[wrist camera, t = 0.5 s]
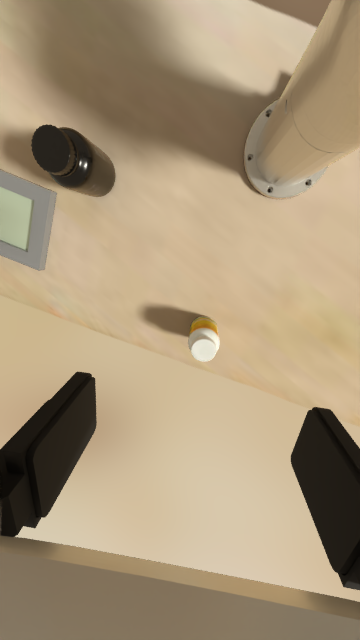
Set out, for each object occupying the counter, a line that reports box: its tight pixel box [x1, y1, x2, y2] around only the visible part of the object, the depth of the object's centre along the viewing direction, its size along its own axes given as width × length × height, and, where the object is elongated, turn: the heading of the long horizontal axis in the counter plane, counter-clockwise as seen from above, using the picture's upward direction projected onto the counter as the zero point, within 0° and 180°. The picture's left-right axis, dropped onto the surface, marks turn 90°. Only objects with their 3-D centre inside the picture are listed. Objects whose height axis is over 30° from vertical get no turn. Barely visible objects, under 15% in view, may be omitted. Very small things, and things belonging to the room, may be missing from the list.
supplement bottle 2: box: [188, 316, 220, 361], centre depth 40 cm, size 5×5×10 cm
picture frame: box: [0, 169, 57, 270], centre depth 40 cm, size 14×14×2 cm
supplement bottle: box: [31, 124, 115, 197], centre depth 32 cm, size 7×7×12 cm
